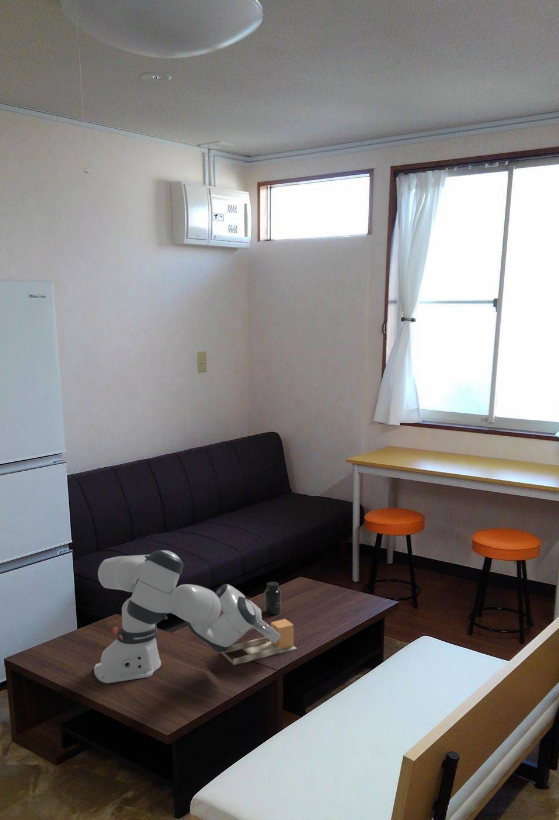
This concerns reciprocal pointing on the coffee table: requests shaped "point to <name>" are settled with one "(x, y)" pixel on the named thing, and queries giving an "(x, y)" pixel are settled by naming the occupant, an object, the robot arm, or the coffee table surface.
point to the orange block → (284, 633)
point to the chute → (255, 650)
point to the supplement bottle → (272, 599)
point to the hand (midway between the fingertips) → (273, 636)
